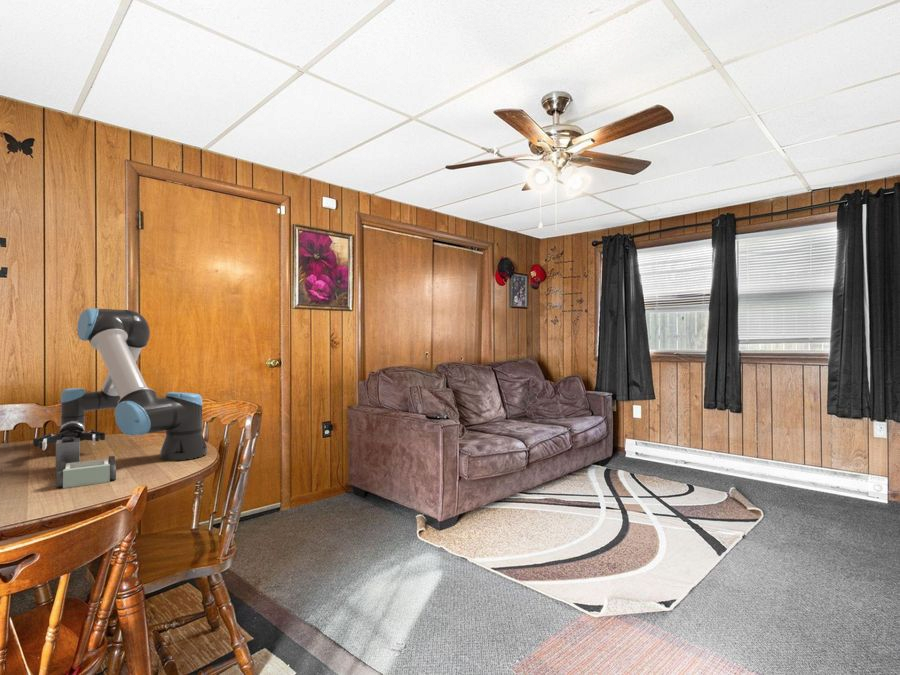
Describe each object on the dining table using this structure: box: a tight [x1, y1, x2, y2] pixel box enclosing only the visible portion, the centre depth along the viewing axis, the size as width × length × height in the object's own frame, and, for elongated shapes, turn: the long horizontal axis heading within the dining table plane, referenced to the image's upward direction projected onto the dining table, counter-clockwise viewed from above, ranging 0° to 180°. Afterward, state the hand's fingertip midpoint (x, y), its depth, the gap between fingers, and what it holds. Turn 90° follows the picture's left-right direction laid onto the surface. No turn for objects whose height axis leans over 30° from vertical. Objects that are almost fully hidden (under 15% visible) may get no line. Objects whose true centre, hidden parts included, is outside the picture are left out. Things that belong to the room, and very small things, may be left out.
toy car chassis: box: [55, 455, 117, 489], centre depth 150 cm, size 17×14×5 cm
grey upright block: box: [55, 437, 81, 472], centre depth 160 cm, size 6×6×10 cm
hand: (69, 443), depth 167 cm, fingers open, 13 cm apart
